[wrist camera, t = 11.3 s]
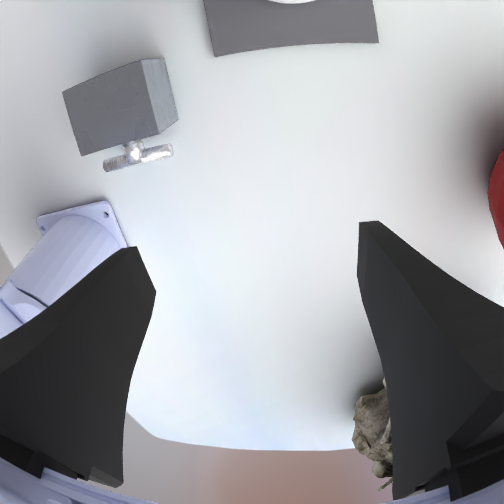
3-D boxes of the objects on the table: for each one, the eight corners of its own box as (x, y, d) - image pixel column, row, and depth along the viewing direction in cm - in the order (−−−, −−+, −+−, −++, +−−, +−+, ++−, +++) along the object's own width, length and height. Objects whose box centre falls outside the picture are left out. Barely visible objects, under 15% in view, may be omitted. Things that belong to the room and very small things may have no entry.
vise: (185, 146, 18) (168, 166, 15) (116, 162, 19) (91, 184, 16) (137, -88, 8) (113, -106, 5) (69, -56, 9) (39, -64, 6)
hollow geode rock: (414, 268, 28) (326, 370, 21) (521, 317, 20) (473, 455, 12) (372, 404, 44) (312, 471, 36) (433, 439, 35) (378, 515, 28)
